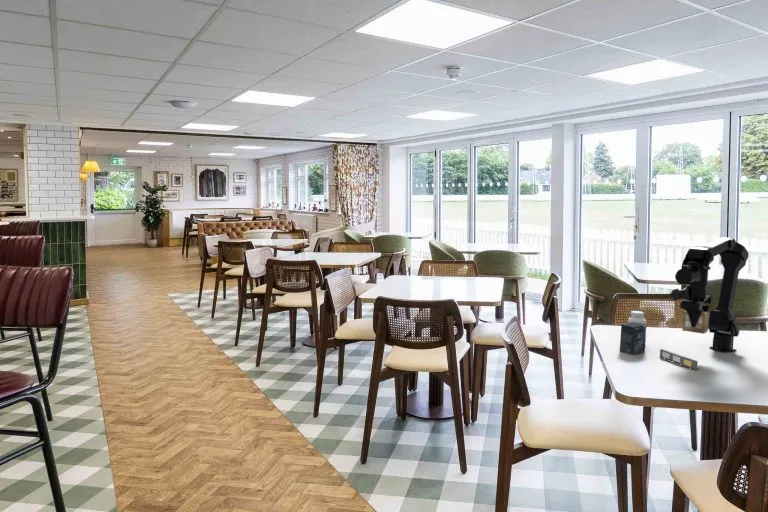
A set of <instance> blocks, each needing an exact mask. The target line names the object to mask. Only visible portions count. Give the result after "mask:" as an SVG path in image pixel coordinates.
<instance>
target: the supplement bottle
mask: <svg viewBox="0 0 768 512" xmlns="http://www.w3.org/2000/svg"><path fill="white" fill-rule="evenodd" d="M630 316H631V317H628V319H627V323H631V322H636V323H641V324H645V325H646V326H647V319H645V318H644V316H645V312H644V311H640V310H631V311H630ZM645 343H646V339H645Z"/></svg>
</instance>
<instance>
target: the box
mask: <svg viewBox="0 0 768 512" xmlns="http://www.w3.org/2000/svg"><path fill="white" fill-rule="evenodd" d="M620 327H621V328H620V341H619V342H620V343H619V352H621V353H624V354H625V353H626V354H628V353H629V355H635V354H639V353H640V354H641V353H644V352H645V351H646V342H645V339H646V338H647V324H646V325H645V324H641V323H636V322H631V323H628V322H626V323H621V326H620Z"/></svg>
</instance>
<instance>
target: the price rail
mask: <svg viewBox="0 0 768 512" xmlns="http://www.w3.org/2000/svg"><path fill="white" fill-rule="evenodd" d="M661 357H662V358H661ZM659 358H661V359H663V358H665V359H664V360H666V359H667V360H666V361H669V360H670V361H669V362H671V361H673V362H672V363H674V362H675V363H674V364H677V363H678V364H677V365H679V364H681V365H680V366H682V365H683V367H685V366H686V368H687V367H688V369H690V368H691V369H690V370H693V369H694V370H693V371H700V370H701V367H698V362H699V361H698V360H696V359H692V358H690V357H687V356H684V355H680V354H678V353H676V352H672V351H669V350H667V349H664V348H660V350H659ZM699 369H700V370H699Z"/></svg>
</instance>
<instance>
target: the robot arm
mask: <svg viewBox="0 0 768 512" xmlns="http://www.w3.org/2000/svg"><path fill="white" fill-rule="evenodd" d="M718 255H719V256H720V262H721V265H722V267H723V276H722V280H721V285H720V286H721V287H720V290H719V296H718V302H717V307H715V308H714V309H711V310H710V312H709V309H710V307H711V305H713V304H714V298H713V296H712V295H708V289H709V288H710V286H709V285H708V281H709V280H708V278H709V271H711V269H712V268H711V267H710V264H711V263H713V261H714V260H715V256H718ZM749 256H750V254H749V251H748V250H747V248H746V247H745V246H744V245H742V244H740V243H739V242H737V241H736V240H735V238H732V237H719V238H718V239H717V240H715V241H712V242H709V243H707V244H706V245H702V246H701V245H700V246H699V245H698V246H697V245H696V246H691V247H690V248H688V250H687V252H686V255H685V256H684V259H683V261H682V263H681V268H680V269H678V270H677V271H676V273H675V274H674V277H675V280H676V282H677V284H678V285H681V286H686V287H685V288H683V289H679V288H675V289H672V290H671V292H670V293H669V294H670V295H669V297H670V298H671V299H672V301H673V302H676V301H678V300H681V299H684V300H682V301H681V302H680V303H679V308H680V309H682V310H683V311H685V310H686V311H687V312H688V315H689V318H690V323H691V327H695V326H696V324H697V322H698V320H699V318H700V316H701V314H702V312H703V311H705V312H709V321H708V331H709V333H712V334H713V337H712V346H709V349H712V350H715V351H718V352H722V353H729V352H731V353H732V352H737V349H736V348H734V337H736V338H737V337H738V336H739V335H740V331H741V330H740V328H739V326H738V324H737V321H736V320H737V315H736V314H735V312H734V311H733V310H734V309H733V306H734V300H735V295H736V290H737V284H738V279H739V275H740V274H739V273H740V271H741V270H742V269H743V268H744V267H745V266H746V264H747V261H748V259H749ZM707 303H708V304H707Z"/></svg>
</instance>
